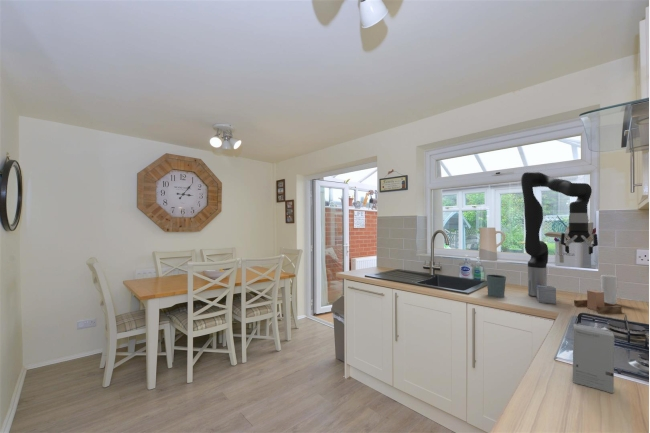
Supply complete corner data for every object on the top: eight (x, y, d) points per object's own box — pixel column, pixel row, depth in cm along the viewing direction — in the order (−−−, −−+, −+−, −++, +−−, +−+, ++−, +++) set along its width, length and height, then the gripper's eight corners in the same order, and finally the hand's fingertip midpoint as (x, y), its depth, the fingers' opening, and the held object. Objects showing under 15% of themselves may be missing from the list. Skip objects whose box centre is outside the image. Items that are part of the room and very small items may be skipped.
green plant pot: (485, 293, 183) (485, 273, 183) (504, 294, 179) (504, 275, 179) (488, 296, 173) (487, 276, 174) (507, 298, 170) (507, 277, 170)
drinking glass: (621, 305, 156) (621, 277, 156) (607, 304, 157) (606, 276, 157) (612, 301, 162) (611, 274, 163) (597, 301, 164) (597, 274, 164)
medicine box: (554, 302, 162) (553, 286, 162) (556, 304, 158) (556, 288, 158) (536, 300, 165) (536, 285, 166) (538, 302, 161) (538, 286, 162)
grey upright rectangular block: (572, 383, 79) (571, 328, 80) (572, 374, 84) (571, 322, 84) (616, 394, 74) (614, 335, 74) (613, 384, 78) (612, 329, 79)
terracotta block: (596, 310, 146) (595, 292, 146) (587, 308, 151) (587, 290, 151) (604, 310, 146) (604, 292, 147) (595, 307, 151) (595, 290, 151)
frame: (599, 313, 141) (599, 307, 142) (574, 305, 154) (574, 300, 155) (621, 312, 142) (621, 306, 142) (595, 305, 155) (595, 299, 155)
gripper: (595, 222, 148) (595, 254, 148) (559, 222, 156) (559, 252, 156) (598, 222, 142) (599, 255, 142) (561, 221, 150) (561, 253, 150)
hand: (578, 253), depth 149 cm, fingers open, 8 cm apart
